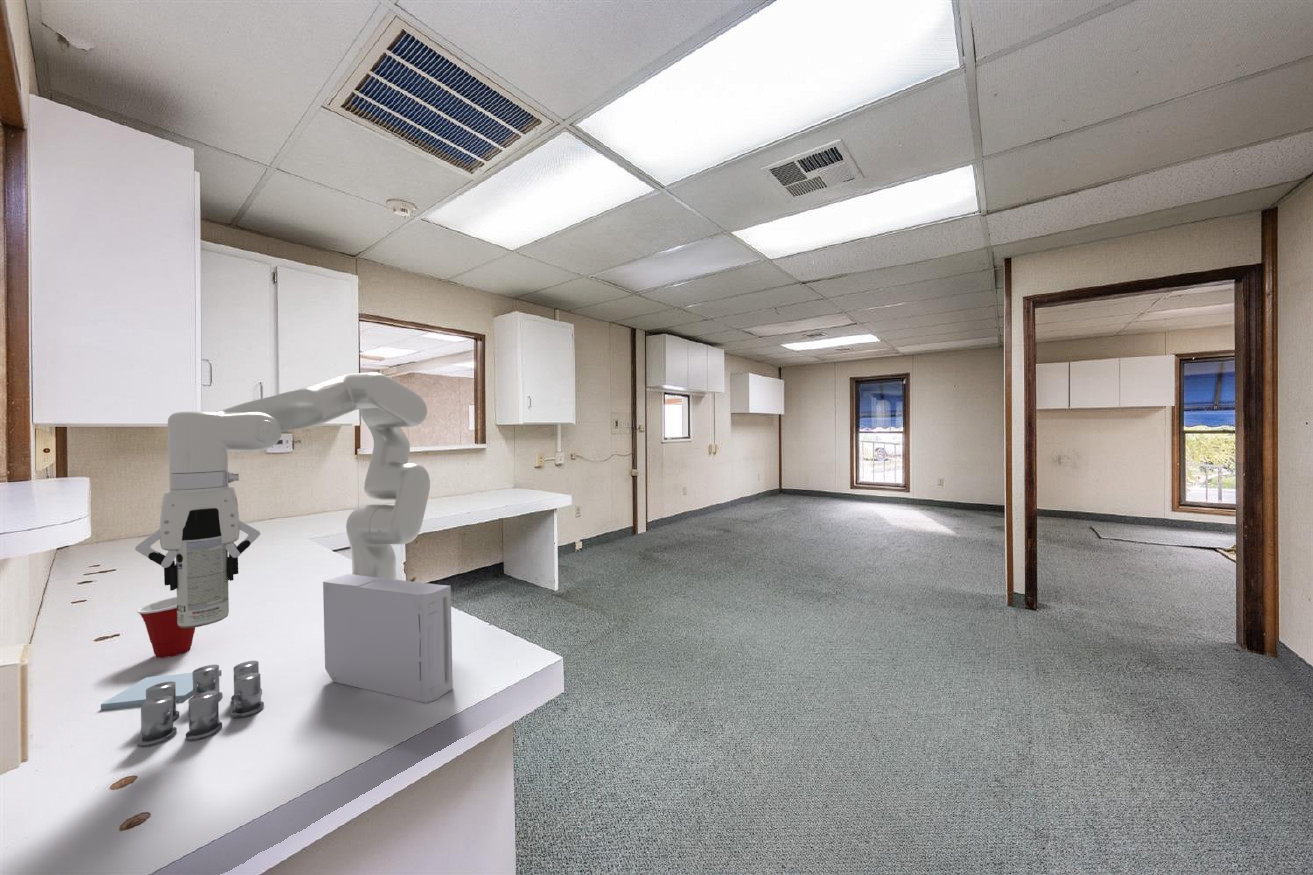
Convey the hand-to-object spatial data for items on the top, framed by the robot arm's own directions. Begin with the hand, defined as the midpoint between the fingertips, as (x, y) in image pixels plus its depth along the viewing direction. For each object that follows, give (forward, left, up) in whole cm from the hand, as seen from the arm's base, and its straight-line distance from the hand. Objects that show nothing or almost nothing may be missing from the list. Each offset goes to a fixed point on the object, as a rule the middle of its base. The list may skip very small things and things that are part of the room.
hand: (203, 582), depth 85 cm
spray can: (0, 0, -7) cm, 7 cm away
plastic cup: (+26, -32, -24) cm, 47 cm away
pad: (+14, -12, -23) cm, 30 cm away
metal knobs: (0, 0, -23) cm, 23 cm away
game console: (-28, -4, -24) cm, 37 cm away
